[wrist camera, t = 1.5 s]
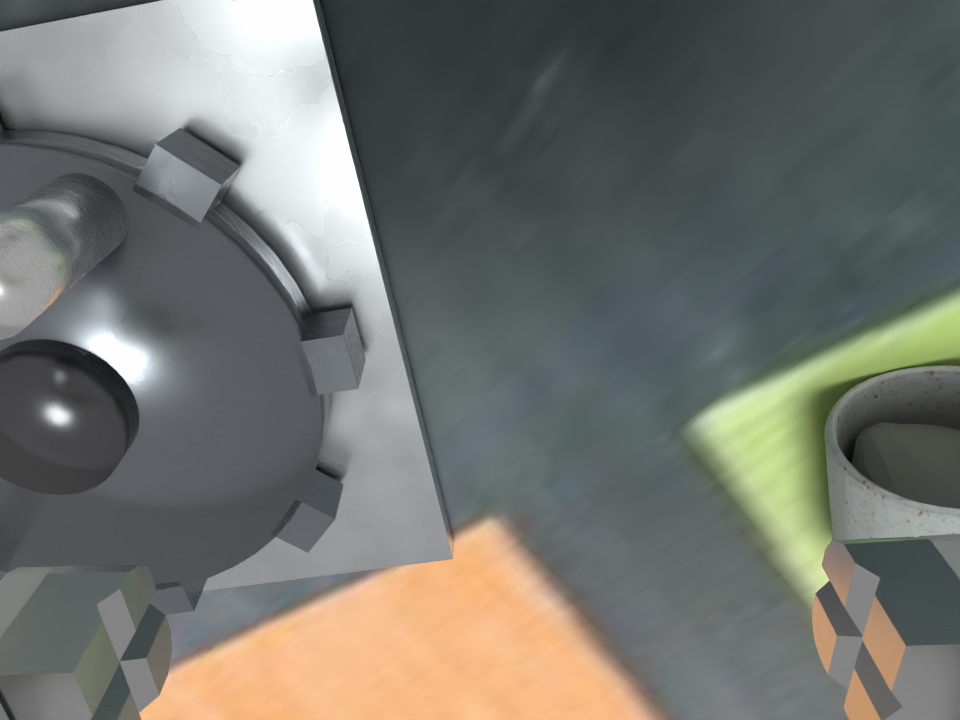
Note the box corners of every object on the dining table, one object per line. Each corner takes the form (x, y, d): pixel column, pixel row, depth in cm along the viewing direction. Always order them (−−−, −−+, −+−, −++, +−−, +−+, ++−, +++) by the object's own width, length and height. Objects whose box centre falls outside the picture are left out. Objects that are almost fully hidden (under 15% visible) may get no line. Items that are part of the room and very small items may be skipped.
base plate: (-375, 104, 24) (-522, 134, 20) (312, -29, 22) (281, -22, 19) (-29, 604, 34) (-86, 681, 31) (453, 542, 33) (450, 615, 29)
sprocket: (-353, 146, 23) (-681, 231, 17) (274, 28, 22) (185, 71, 15) (-34, 605, 33) (-163, 774, 26) (418, 546, 31) (401, 711, 24)
